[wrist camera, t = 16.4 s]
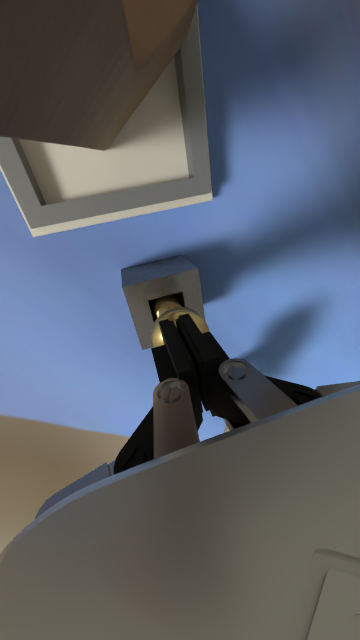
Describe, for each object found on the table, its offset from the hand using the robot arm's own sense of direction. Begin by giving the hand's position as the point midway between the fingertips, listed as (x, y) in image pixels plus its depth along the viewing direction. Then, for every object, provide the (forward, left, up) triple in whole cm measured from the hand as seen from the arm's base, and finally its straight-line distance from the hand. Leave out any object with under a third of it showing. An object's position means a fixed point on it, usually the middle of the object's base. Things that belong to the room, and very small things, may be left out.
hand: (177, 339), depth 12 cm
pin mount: (0, 0, -8) cm, 8 cm away
